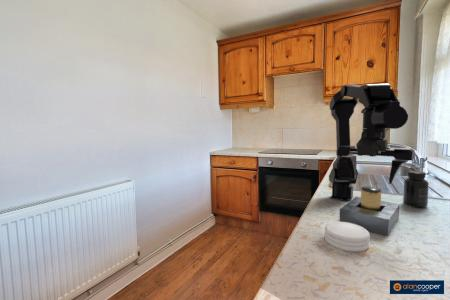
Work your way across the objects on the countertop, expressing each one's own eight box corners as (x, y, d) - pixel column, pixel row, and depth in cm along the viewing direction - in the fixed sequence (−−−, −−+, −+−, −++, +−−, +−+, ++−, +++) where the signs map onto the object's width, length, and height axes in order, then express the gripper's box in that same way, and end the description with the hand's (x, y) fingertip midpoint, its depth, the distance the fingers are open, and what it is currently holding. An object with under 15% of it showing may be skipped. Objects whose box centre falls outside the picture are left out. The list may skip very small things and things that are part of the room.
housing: (339, 223, 70) (339, 208, 69) (355, 209, 81) (356, 196, 80) (387, 236, 61) (388, 219, 61) (398, 218, 73) (399, 204, 72)
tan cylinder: (358, 221, 71) (359, 188, 70) (362, 216, 75) (364, 185, 74) (377, 225, 68) (379, 191, 67) (381, 220, 71) (383, 188, 70)
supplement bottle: (425, 203, 85) (427, 171, 84) (429, 209, 79) (432, 174, 78) (401, 201, 89) (403, 169, 87) (404, 206, 83) (406, 172, 81)
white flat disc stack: (318, 243, 59) (318, 229, 59) (332, 229, 66) (333, 217, 66) (363, 258, 52) (363, 242, 52) (373, 241, 59) (374, 228, 59)
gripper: (330, 129, 69) (328, 181, 71) (410, 128, 56) (406, 192, 58) (343, 128, 77) (341, 175, 79) (416, 127, 64) (412, 184, 66)
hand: (371, 181), depth 70 cm, fingers open, 9 cm apart
